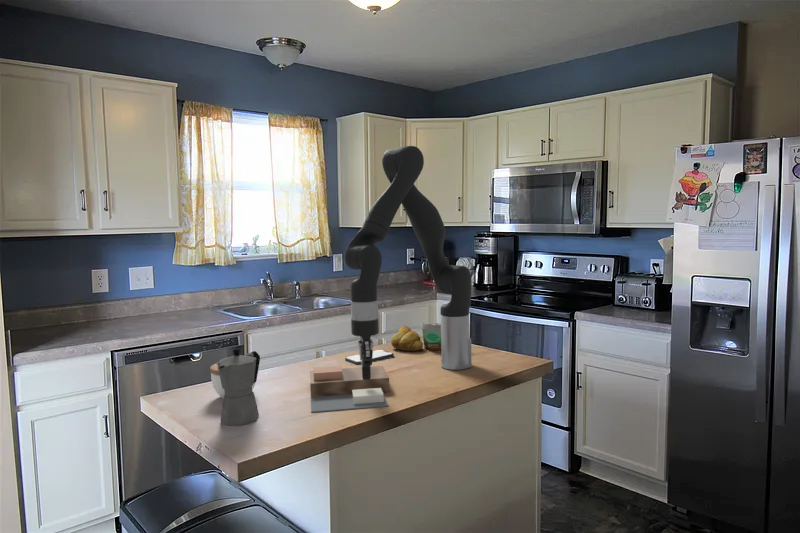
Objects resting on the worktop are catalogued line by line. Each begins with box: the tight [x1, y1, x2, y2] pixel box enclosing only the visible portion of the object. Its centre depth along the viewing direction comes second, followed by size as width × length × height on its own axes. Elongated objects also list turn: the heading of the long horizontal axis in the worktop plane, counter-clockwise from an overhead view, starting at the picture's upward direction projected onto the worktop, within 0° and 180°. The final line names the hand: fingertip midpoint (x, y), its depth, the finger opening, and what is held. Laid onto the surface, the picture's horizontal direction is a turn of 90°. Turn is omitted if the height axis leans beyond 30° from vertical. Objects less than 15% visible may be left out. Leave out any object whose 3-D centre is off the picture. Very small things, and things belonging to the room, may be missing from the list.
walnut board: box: [309, 365, 390, 398], centre depth 160 cm, size 22×13×4 cm, turn 100°
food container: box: [420, 322, 441, 352], centre depth 202 cm, size 12×6×10 cm, turn 80°
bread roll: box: [390, 325, 424, 352], centre depth 205 cm, size 13×10×8 cm
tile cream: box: [352, 388, 385, 404], centre depth 149 cm, size 8×6×2 cm
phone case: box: [344, 349, 395, 366], centre depth 193 cm, size 9×2×16 cm
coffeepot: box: [216, 347, 261, 427], centre depth 137 cm, size 15×9×18 cm, turn 159°
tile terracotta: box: [312, 365, 343, 380], centre depth 158 cm, size 8×6×2 cm
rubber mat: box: [310, 393, 390, 414], centre depth 148 cm, size 20×12×1 cm, turn 100°
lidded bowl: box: [209, 362, 257, 400], centre depth 155 cm, size 13×13×11 cm
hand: (366, 378), depth 152 cm, fingers closed
